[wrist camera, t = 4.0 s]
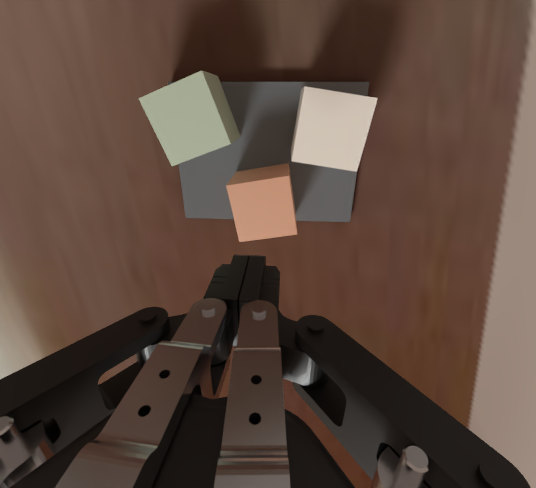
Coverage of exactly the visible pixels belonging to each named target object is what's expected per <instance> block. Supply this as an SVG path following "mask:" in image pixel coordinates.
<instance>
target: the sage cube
mask: <svg viewBox="0 0 536 488" xmlns="http://www.w3.org/2000/svg"><path fill="white" fill-rule="evenodd" d="M139 100H140V102H141V104H142V107H143V109H144V111H145V113H146V115H147V117H148V119H149V121H150V123H151V125H152V127H153V129H154V131H155V133H156V135H157V137H158V139H159V141H160V143H161V145H162V147H163V149H164V151H165V153H166V155H167V157H168V159H169V161H170V164H171V166H174V165H177V164H180V163H182V162H185V161H187V160H190V159H193V158H195V157H198V156H201V155H203V154H206V153H208V152H211V151H214V150H216V149H219V148H222V147H224V146H227V145H229V144H231V143H233V142H234V141H235V140H237V139H238V138H239V137H240V134H239V131H238V128H237V126H236V123H235V120H234V118H233V115H232V112H231V110H230V107H229V104H228V102H227V99H226V96H225V94H224V91H223V88H222V86H221V83H220V80H219V78H218V76H217V75H214V74H211V73H208V72H205V71H202V70H201V71H199V72H197V73H195V74H192V75H190V76H188V77H186V78H183V79H181V80H179V81H177V82H175V83H172V84H170V85H168V86H166V87H163V88H161V89H159V90H157V91H154V92H152V93H150V94H148V95H145V96H143V97H141V98H139Z"/></svg>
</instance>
